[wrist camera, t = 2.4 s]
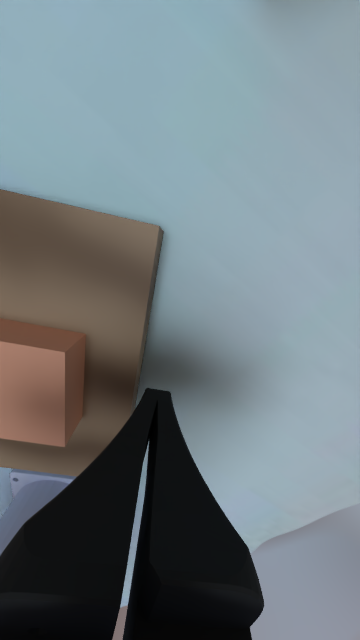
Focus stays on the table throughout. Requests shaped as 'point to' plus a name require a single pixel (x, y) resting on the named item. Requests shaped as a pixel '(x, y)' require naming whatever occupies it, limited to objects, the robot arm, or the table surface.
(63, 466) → the brown flat wooden slab
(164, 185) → the table surface
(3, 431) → the block
